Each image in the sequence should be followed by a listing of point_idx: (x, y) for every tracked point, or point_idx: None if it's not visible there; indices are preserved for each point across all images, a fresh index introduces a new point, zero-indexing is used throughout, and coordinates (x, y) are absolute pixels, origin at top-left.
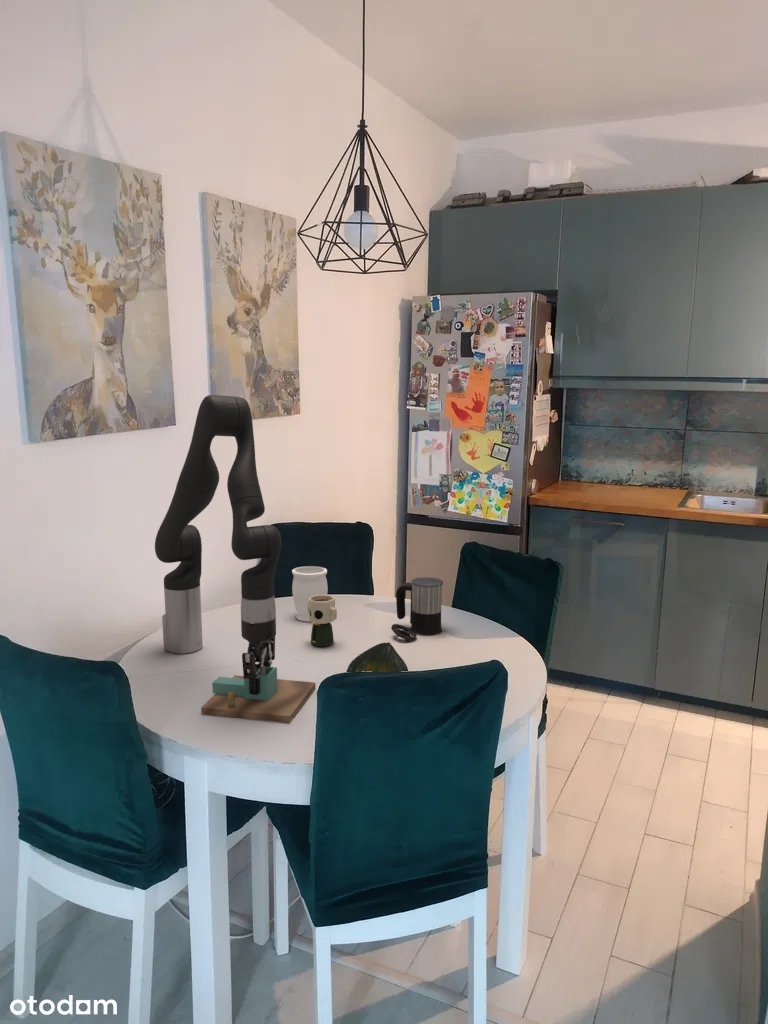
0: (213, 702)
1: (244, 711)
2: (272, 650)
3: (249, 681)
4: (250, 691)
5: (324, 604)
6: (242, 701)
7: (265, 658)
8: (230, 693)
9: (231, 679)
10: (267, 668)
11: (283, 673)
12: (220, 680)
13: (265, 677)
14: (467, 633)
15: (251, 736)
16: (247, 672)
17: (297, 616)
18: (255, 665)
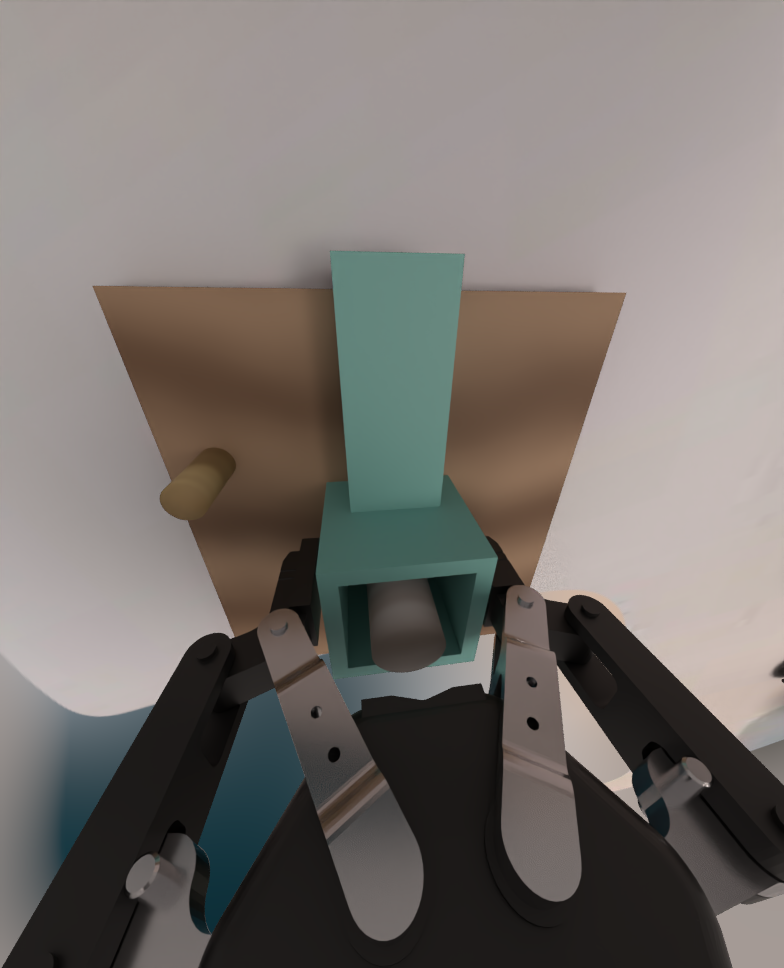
0: (205, 341)
1: (197, 537)
2: (593, 713)
3: (272, 606)
4: (286, 561)
5: None
6: (290, 488)
7: (493, 683)
8: (174, 503)
9: (424, 388)
10: (463, 626)
11: (651, 485)
12: (390, 308)
13: (332, 665)
14: (774, 721)
15: (93, 592)
16: (224, 680)
17: None
18: (211, 802)
